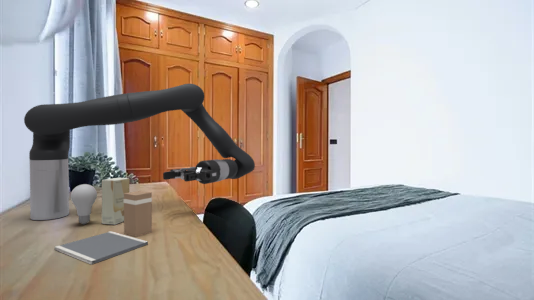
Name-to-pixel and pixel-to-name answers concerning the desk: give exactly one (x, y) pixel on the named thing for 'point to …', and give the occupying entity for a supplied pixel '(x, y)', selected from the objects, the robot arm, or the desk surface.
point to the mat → (100, 247)
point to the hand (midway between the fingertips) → (174, 176)
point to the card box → (137, 213)
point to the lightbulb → (83, 201)
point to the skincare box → (113, 200)
